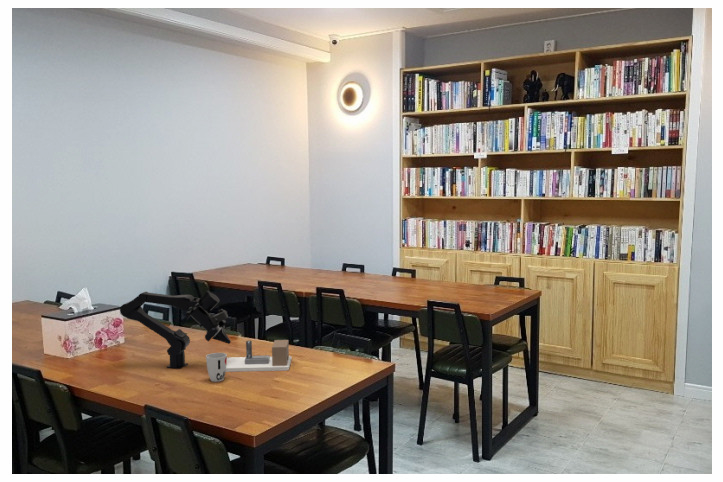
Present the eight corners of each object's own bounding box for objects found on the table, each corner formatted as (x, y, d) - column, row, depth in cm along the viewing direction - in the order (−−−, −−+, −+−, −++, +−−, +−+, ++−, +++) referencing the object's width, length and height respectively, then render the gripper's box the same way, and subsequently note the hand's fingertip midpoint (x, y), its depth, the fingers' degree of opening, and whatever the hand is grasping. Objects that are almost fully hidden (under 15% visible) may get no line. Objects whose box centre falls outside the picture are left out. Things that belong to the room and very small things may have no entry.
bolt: (245, 362, 261) (244, 342, 260) (246, 360, 264) (245, 340, 263) (268, 362, 261) (268, 341, 260) (269, 360, 264) (269, 340, 263)
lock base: (216, 371, 254) (216, 349, 253) (223, 360, 270) (223, 339, 269) (288, 370, 255) (288, 348, 254) (291, 359, 271) (291, 338, 270)
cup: (217, 384, 238) (217, 359, 237) (202, 381, 242) (201, 356, 241) (231, 378, 245) (231, 354, 244) (216, 375, 249) (215, 351, 248)
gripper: (211, 309, 250) (239, 335, 252) (220, 300, 269) (246, 324, 270) (193, 328, 251) (221, 354, 252) (203, 318, 269) (228, 342, 271)
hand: (230, 342), depth 261 cm, fingers closed
